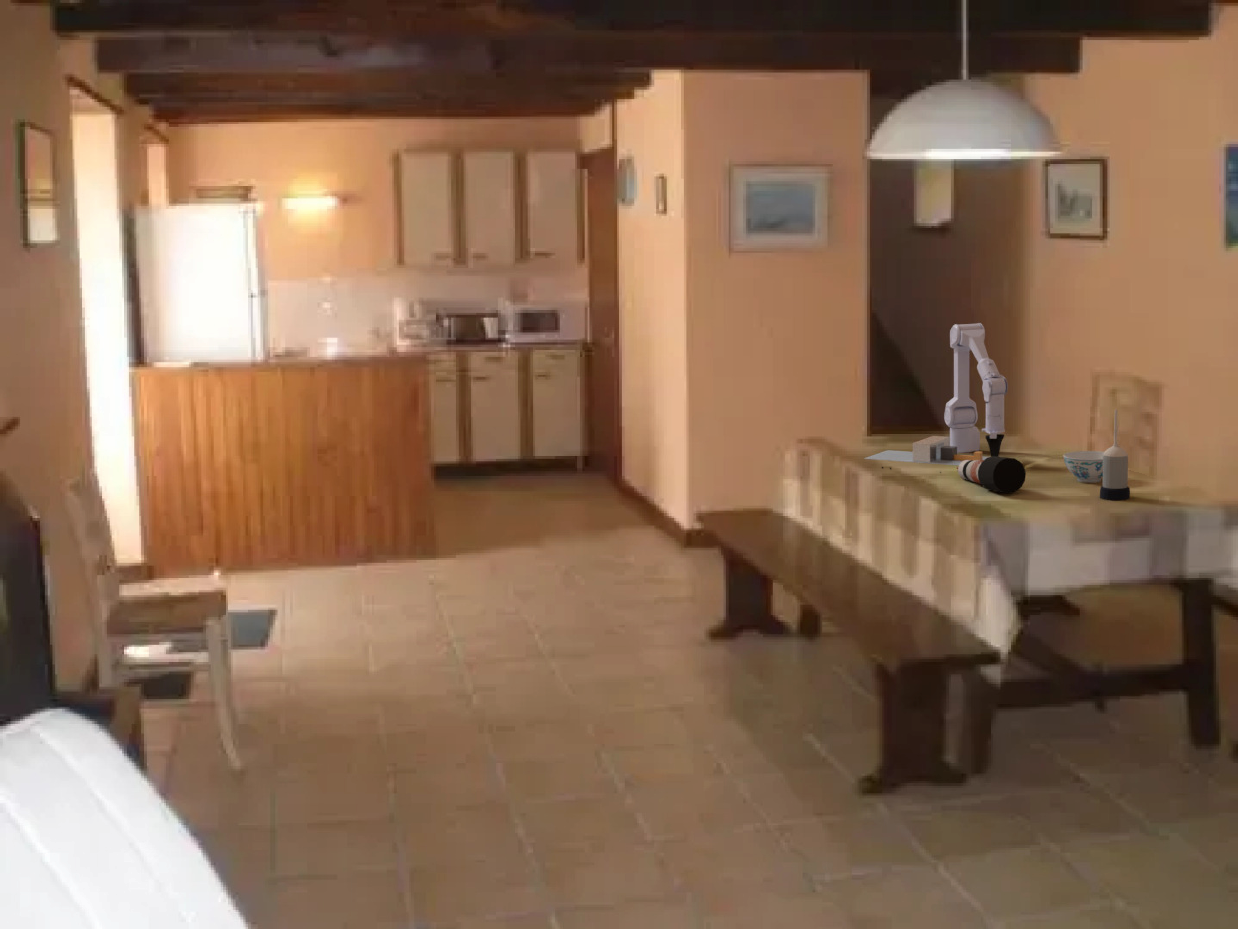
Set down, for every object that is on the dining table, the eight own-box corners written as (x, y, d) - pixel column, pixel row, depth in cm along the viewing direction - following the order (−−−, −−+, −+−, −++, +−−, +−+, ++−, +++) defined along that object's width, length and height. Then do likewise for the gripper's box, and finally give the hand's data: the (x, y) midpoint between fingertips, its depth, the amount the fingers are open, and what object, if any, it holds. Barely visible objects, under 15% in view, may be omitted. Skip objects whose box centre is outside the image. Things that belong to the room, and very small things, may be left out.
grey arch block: (950, 454, 513) (950, 436, 511) (930, 462, 500) (929, 444, 499) (933, 453, 516) (933, 435, 515) (912, 461, 503) (912, 443, 502)
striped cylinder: (967, 490, 480) (980, 460, 480) (1017, 498, 447) (1031, 466, 447) (939, 477, 478) (952, 447, 478) (987, 484, 444) (1001, 452, 445)
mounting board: (997, 459, 504) (997, 457, 504) (975, 469, 490) (975, 466, 490) (887, 452, 527) (887, 450, 526) (863, 460, 512) (863, 458, 512)
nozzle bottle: (1121, 494, 442) (1122, 407, 438) (1135, 499, 434) (1137, 410, 430) (1094, 496, 441) (1095, 408, 437) (1108, 501, 433) (1109, 412, 429)
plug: (983, 460, 500) (983, 448, 499) (978, 462, 496) (978, 450, 496) (945, 457, 507) (945, 445, 506) (940, 459, 504) (940, 447, 503)
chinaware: (1052, 479, 468) (1052, 454, 467) (1092, 474, 474) (1092, 449, 473) (1085, 487, 455) (1086, 461, 453) (1126, 481, 460) (1126, 455, 459)
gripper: (983, 411, 501) (983, 453, 503) (980, 418, 487) (980, 461, 490) (1006, 412, 499) (1006, 453, 501) (1003, 418, 485) (1003, 461, 487)
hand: (994, 457), depth 495 cm, fingers closed
